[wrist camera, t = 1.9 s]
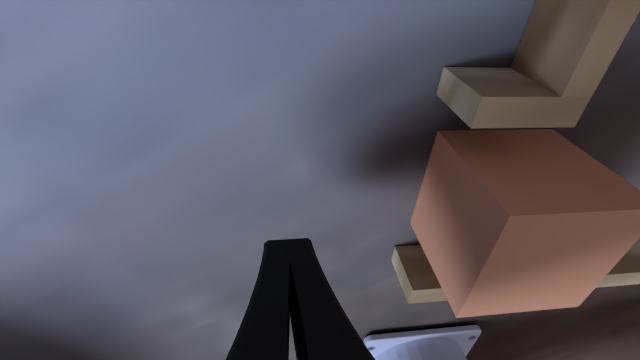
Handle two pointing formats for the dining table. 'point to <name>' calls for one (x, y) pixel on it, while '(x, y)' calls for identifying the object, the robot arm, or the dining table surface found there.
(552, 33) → the trap lane
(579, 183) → the block
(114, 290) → the dining table surface
